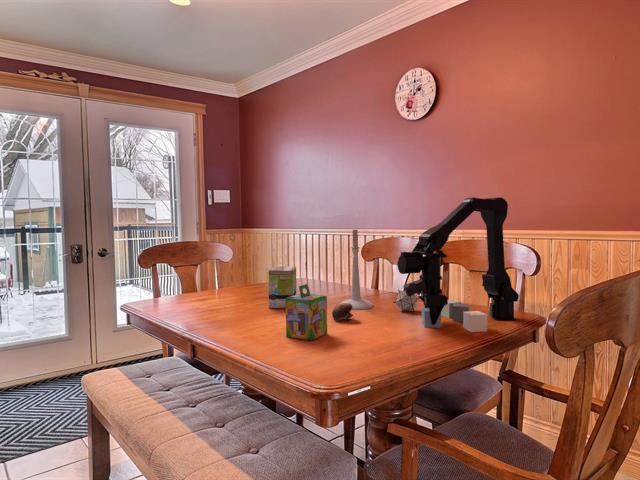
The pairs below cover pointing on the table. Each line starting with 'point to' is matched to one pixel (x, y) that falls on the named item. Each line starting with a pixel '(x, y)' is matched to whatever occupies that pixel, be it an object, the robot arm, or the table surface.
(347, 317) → the mushroom
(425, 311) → the slate blue cube
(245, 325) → the table surface
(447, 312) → the sage cube
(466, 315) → the cream cube
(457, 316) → the charcoal cube
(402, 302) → the game die
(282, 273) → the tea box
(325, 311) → the chalk box
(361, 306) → the candlestick
